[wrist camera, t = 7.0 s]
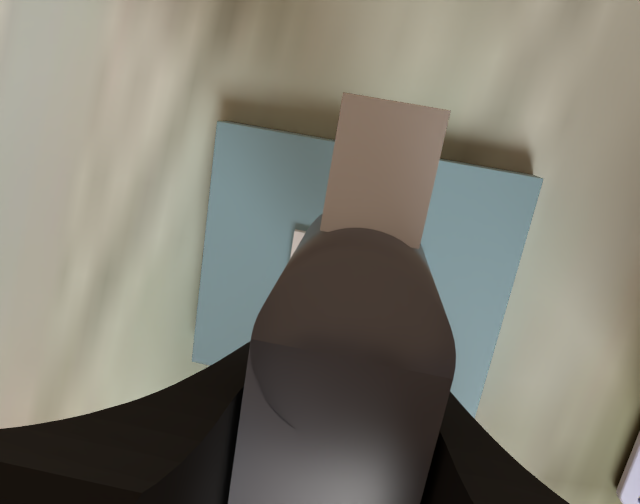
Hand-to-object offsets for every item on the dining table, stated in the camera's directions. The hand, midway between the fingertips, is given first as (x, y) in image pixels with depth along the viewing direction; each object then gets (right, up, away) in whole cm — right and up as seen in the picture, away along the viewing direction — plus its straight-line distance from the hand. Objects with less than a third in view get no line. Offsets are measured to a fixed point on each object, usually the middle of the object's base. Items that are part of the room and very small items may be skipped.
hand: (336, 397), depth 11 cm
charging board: (+1, +3, +9) cm, 10 cm away
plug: (0, +2, +1) cm, 2 cm away
